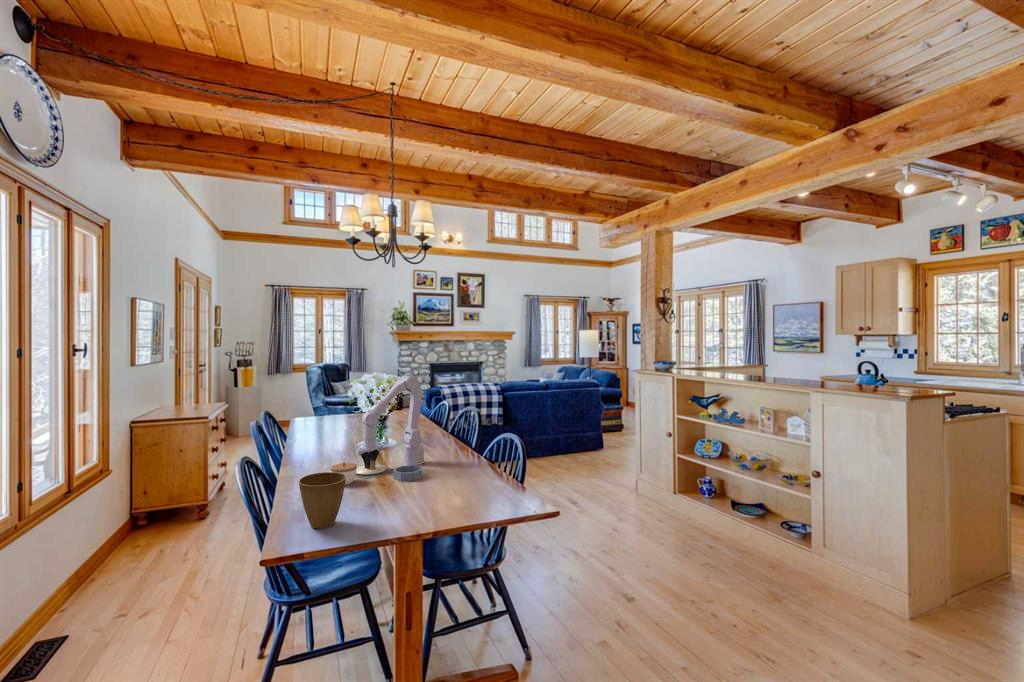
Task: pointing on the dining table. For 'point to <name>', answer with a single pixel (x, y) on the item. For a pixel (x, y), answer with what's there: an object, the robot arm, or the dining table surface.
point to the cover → (371, 469)
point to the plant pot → (322, 497)
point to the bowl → (407, 473)
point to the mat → (375, 474)
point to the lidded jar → (346, 471)
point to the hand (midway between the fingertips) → (369, 467)
